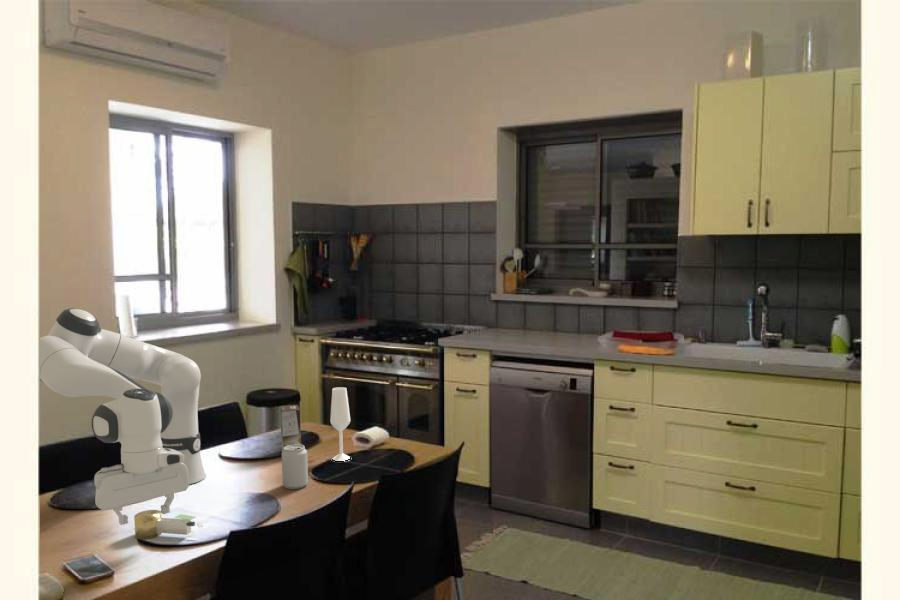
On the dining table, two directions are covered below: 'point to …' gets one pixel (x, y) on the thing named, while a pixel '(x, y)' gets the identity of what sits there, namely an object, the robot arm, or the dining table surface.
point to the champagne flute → (340, 417)
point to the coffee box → (290, 425)
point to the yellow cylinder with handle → (159, 525)
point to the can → (294, 466)
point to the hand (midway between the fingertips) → (144, 518)
